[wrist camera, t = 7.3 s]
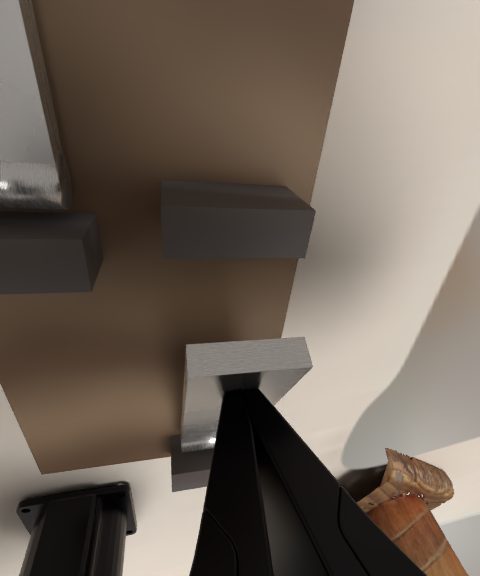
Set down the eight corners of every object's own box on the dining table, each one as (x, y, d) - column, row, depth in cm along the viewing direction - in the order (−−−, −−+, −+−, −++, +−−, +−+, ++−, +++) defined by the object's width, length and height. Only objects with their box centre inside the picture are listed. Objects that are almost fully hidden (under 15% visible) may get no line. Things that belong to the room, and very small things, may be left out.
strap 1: (236, 417, 17) (240, 446, 16) (180, 424, 16) (181, 454, 15) (301, 326, 8) (316, 379, 7) (185, 332, 8) (188, 391, 7)
